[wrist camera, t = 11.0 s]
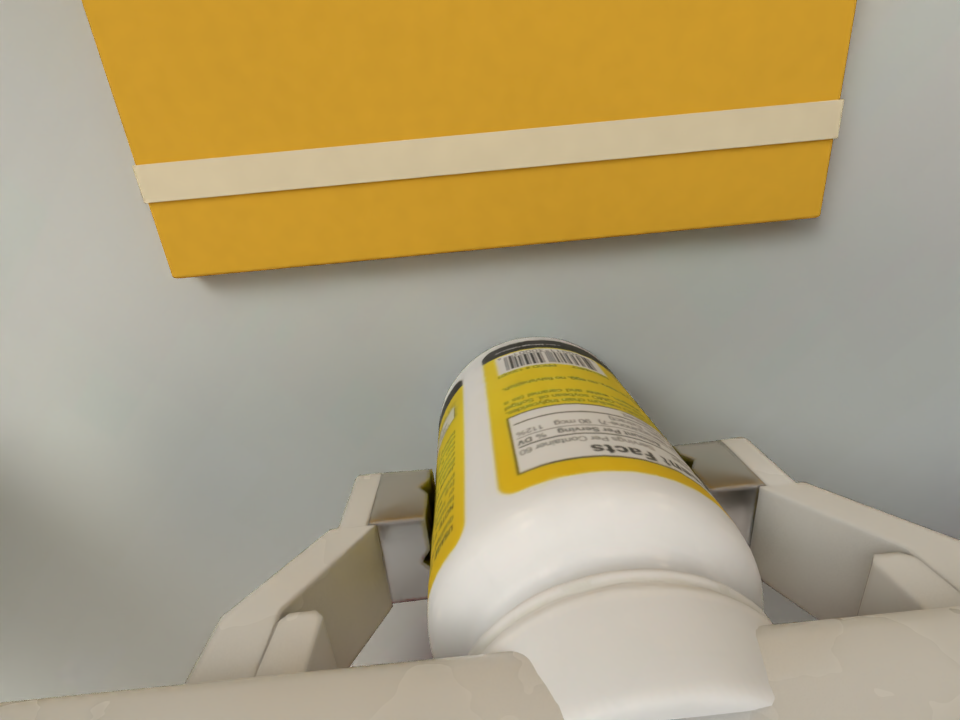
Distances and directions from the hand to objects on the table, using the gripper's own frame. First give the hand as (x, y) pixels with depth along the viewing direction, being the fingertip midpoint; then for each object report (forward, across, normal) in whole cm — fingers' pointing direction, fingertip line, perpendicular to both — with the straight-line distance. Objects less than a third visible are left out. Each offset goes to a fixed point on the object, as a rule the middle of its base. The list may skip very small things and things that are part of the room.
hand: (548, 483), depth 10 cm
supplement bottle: (+3, 0, 0) cm, 3 cm away
